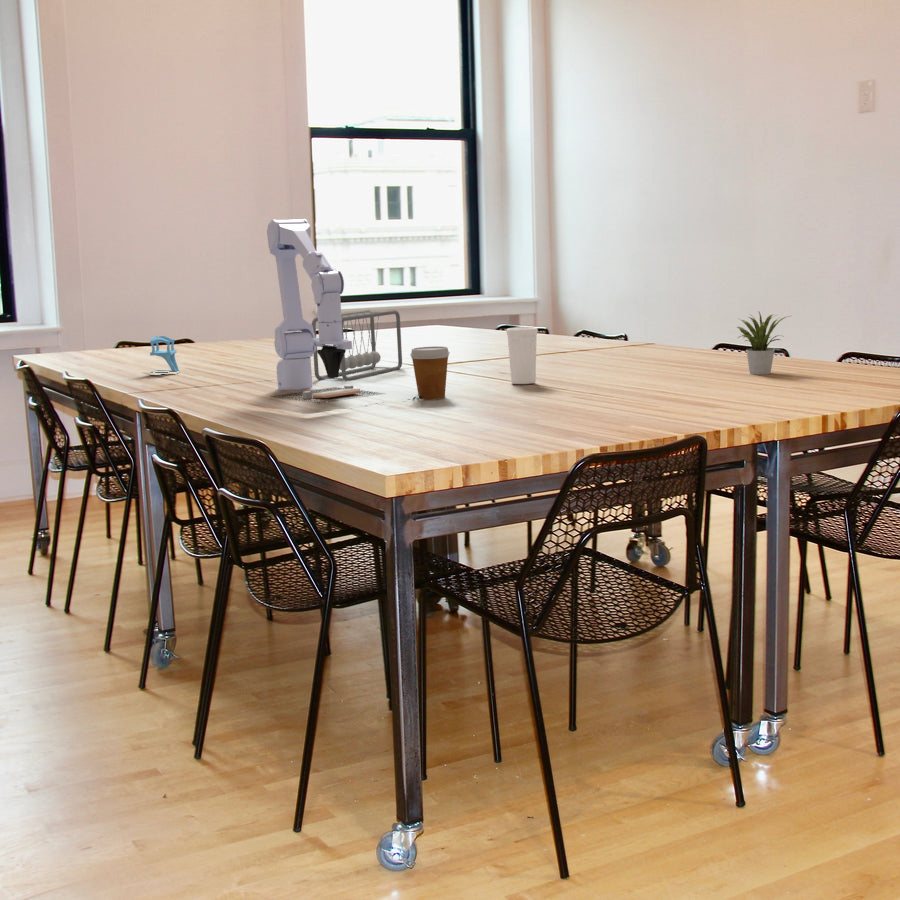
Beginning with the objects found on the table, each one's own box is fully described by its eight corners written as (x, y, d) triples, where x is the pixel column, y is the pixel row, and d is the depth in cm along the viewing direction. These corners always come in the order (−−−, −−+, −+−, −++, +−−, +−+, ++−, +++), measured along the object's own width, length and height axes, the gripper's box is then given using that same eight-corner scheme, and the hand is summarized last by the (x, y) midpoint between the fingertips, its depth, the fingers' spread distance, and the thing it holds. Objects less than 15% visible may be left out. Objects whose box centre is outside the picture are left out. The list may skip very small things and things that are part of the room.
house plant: (787, 369, 292) (788, 306, 289) (798, 375, 279) (799, 310, 276) (732, 370, 294) (732, 308, 291) (740, 377, 280) (741, 312, 277)
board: (269, 400, 275) (268, 390, 274) (335, 390, 288) (334, 380, 287) (319, 408, 258) (318, 397, 258) (387, 397, 271) (386, 387, 271)
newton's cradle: (344, 382, 306) (340, 317, 303) (314, 381, 311) (310, 317, 308) (403, 369, 331) (400, 309, 328) (374, 368, 337) (371, 309, 333)
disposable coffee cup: (417, 401, 262) (415, 351, 260) (408, 397, 271) (405, 348, 269) (456, 398, 264) (454, 348, 262) (445, 394, 273) (443, 345, 271)
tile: (312, 393, 269) (326, 393, 264) (345, 388, 275) (360, 388, 271) (312, 397, 269) (326, 397, 264) (346, 392, 275) (360, 392, 271)
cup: (537, 385, 281) (535, 329, 278) (505, 386, 283) (503, 330, 280) (541, 381, 289) (539, 326, 286) (510, 381, 291) (508, 327, 288)
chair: (175, 375, 341) (172, 336, 338) (148, 376, 341) (145, 337, 339) (181, 372, 348) (178, 334, 346) (155, 373, 348) (152, 335, 346)
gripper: (299, 321, 270) (302, 377, 273) (333, 324, 259) (336, 381, 262) (323, 319, 275) (326, 374, 277) (357, 321, 264) (360, 378, 266)
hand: (333, 377), depth 270 cm, fingers closed
